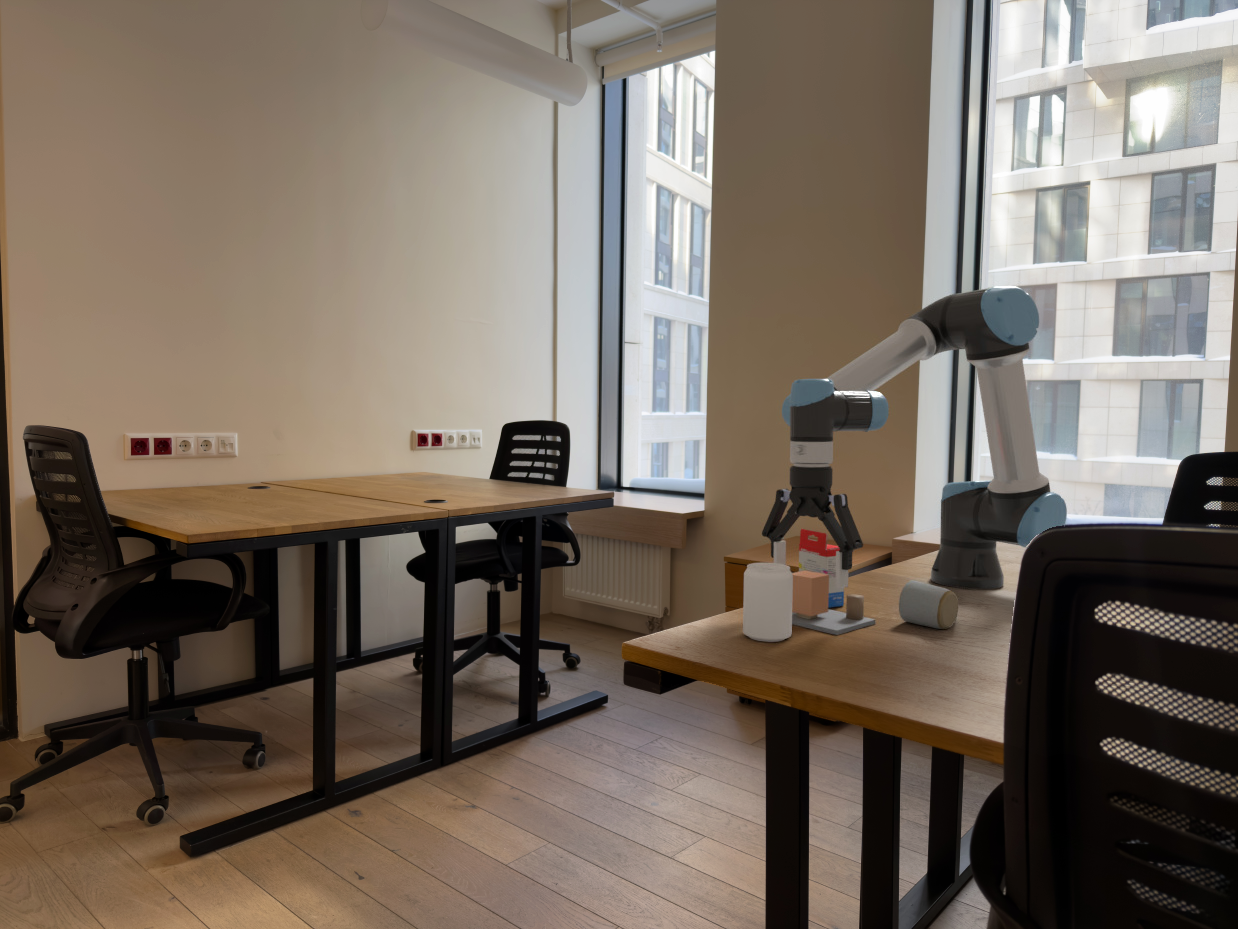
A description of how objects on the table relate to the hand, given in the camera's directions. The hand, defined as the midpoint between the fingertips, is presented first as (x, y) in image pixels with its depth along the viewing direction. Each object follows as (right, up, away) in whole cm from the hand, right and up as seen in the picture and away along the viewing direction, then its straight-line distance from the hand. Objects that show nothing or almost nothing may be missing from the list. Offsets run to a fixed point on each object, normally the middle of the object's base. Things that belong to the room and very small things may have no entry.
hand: (809, 581), depth 148 cm
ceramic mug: (+22, -8, -1) cm, 23 cm away
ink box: (+6, -7, +15) cm, 17 cm away
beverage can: (-10, -8, -10) cm, 16 cm away
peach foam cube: (0, -5, 0) cm, 5 cm away
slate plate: (+2, -7, 0) cm, 8 cm away
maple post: (0, -7, 0) cm, 7 cm away
